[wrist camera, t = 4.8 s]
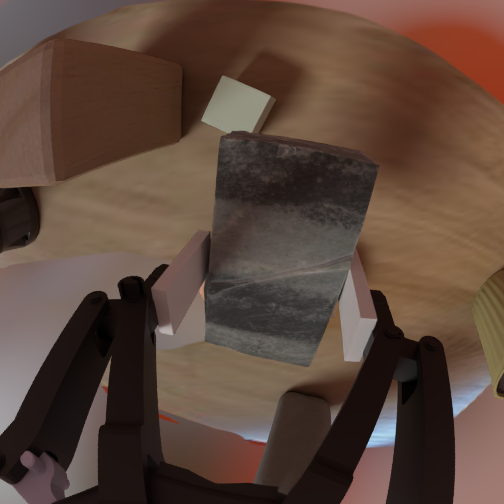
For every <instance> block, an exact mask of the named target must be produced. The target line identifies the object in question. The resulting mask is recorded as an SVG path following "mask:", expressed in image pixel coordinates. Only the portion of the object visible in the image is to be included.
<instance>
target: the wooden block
mask: <svg viewBox="0 0 504 504" xmlns="http://www.w3.org/2000/svg"><path fill="white" fill-rule="evenodd" d="M182 73H183V70H182V67H181V65H180V64H177V63H174V62H171V61H168V60H164V59H161V58H157V57H154V56H150V55H147V54H143V53H139V52H135V51H131V50H126V49H122V48H117V47H113V46H108V45H102V44H97V43H91V42H85V41H78V40H71V39H62V38H55V39H52V40H50V41H48V42H46V43H44V44H42V45H40V46H39V47H37V48H35V49H34V50H32V51H30V52H29V53H27V54H25V55H24V56H22V57H21V58H19V59H18V60H16V61H15V62H13V63H12V64H10V65H9V66H7V67H6V68H4V69H3V70H2V71H0V188H13V187H30V186H53V185H60V184H62V183H64V182H66V181H69V180H71V179H74V178H76V177H78V176H81V175H83V174H86V173H89V172H91V171H94V170H96V169H99V168H102V167H104V166H107V165H110V164H113V163H115V162H118V161H121V160H124V159H127V158H130V157H133V156H136V155H139V154H143V153H146V152H149V151H152V150H156V149H159V148H163V147H166V146H170V145H173V144H175V143H178V142H179V141H180V138H181V105H182Z"/></svg>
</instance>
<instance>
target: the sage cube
mask: <svg viewBox="0 0 504 504" xmlns="http://www.w3.org/2000/svg"><path fill="white" fill-rule="evenodd" d="M275 101H276V99H275V98H273V97H272V96H270V95H268V94H266V93H263V92H261V91H259V90H257V89H255V88H252V87H250V86H248V85H245V84H243V83H241V82H238V81H236V80H233V79H231V78H228V77H226V76H222V78H221V80H220V82H219V84H218V86H217V88H216V90H215V92H214V94H213V96H212V98H211V100H210V102H209V104H208V106H207V109H206V111H205V113H204V115H203V117H202V120H201V121H202V122H205V123H207V124H209V125H211V126H214V127H216V128H218V129H220V130H222V131H225V132H227V133H231V132H232V131H247V132H250V133H259V131H260V129H261V127H262V126H263V124H264V122H265V120H266V118H267V116H268V114H269V112H270V110H271V109H272V107H273V105H274V103H275Z"/></svg>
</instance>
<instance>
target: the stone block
mask: <svg viewBox="0 0 504 504" xmlns="http://www.w3.org/2000/svg"><path fill="white" fill-rule="evenodd" d="M378 168H379V165H378V164H377V163H376V162H375V161H373V160H372V159H371V158H369V157H368V156H367V155H365V154H364V153H363V152H361V151H359V150H352V149H348V148H344V147H339V146H333V145H328V144H323V143H317V142H312V141H306V140H300V139H294V138H289V137H282V136H272V135H264V134H260V133H250V132H247V131H232V132H231V133H229V134H227V135H224V136H222V137H221V139H220V145H219V154H218V166H217V177H216V191H215V205H214V214H213V225H212V237H211V248H210V263H209V274H208V275H207V277H206V279H205V284H204V300H205V316H206V322H205V342H208V343H211V344H215V345H218V346H222V347H226V348H229V349H232V350H235V351H238V352H241V353H244V354H247V355H251V356H256V357H261V358H266V359H271V360H276V361H280V362H285V363H289V364H294V365H300V366H306V367H309V366H310V364H311V362H312V359H313V357H314V355H315V353H316V351H317V348H318V346H319V344H320V341H321V339H322V337H323V334H324V332H325V329H326V326H327V324H328V322H329V319H330V316H331V314H332V312H333V310H334V307H335V305H336V302H337V300H338V297H339V294H340V292H341V289H342V287H343V284H344V281H345V279H346V276H347V273H348V270H349V269H350V267H351V264H352V260H353V253H354V250H355V247H356V245H357V242H358V239H359V235H360V232H361V228H362V226H363V222H364V219H365V216H366V212H367V209H368V205H369V202H370V198H371V195H372V191H373V188H374V184H375V180H376V176H377V172H378Z"/></svg>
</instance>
